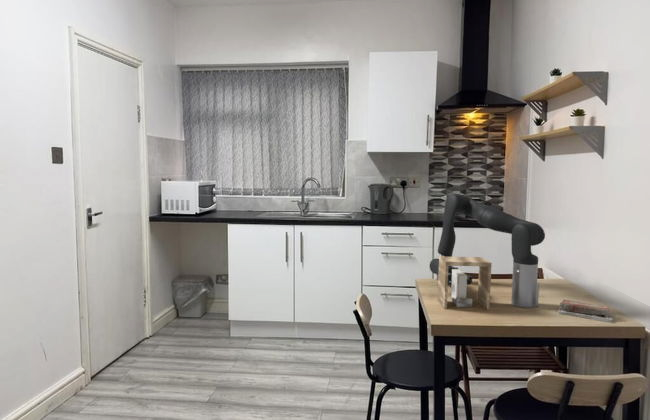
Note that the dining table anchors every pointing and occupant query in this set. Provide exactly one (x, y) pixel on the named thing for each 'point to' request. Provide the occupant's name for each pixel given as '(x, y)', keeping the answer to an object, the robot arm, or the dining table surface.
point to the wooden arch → (483, 281)
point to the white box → (458, 284)
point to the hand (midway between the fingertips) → (458, 282)
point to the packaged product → (585, 311)
